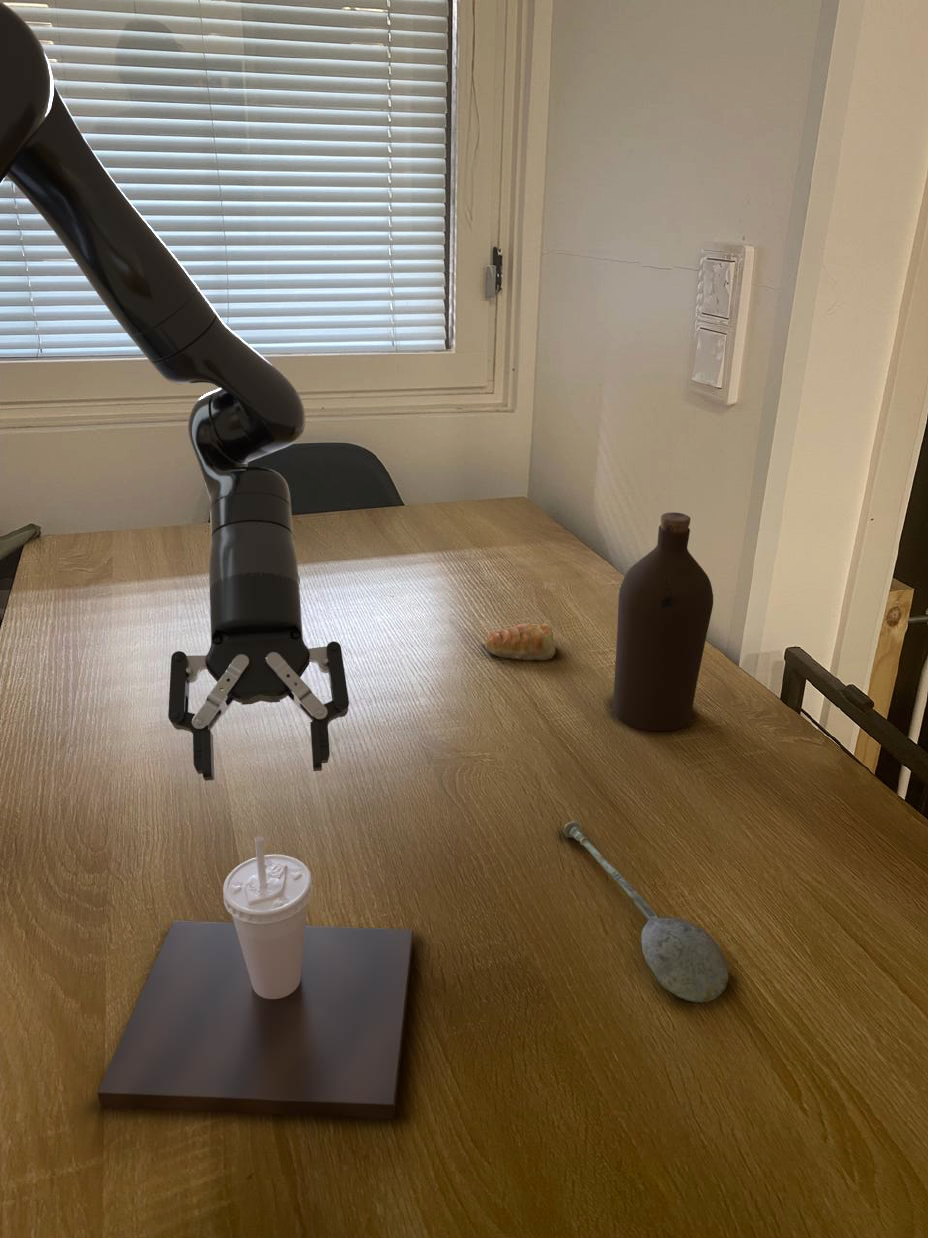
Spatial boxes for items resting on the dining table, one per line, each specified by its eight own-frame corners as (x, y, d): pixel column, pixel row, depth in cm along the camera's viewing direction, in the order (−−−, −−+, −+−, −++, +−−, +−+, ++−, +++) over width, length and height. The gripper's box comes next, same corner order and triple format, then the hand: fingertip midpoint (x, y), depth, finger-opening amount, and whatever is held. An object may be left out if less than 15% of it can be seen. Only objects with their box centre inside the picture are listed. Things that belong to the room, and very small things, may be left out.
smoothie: (216, 997, 68) (197, 850, 62) (264, 939, 74) (250, 798, 68) (290, 1025, 66) (277, 875, 60) (333, 962, 72) (325, 819, 66)
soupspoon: (672, 1021, 70) (740, 998, 73) (680, 989, 69) (749, 967, 71) (540, 841, 88) (599, 827, 90) (545, 813, 86) (604, 800, 89)
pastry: (489, 663, 121) (490, 638, 119) (481, 641, 127) (482, 616, 126) (557, 661, 122) (559, 635, 121) (547, 639, 128) (548, 614, 127)
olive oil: (713, 727, 108) (745, 527, 97) (633, 742, 104) (657, 536, 94) (667, 685, 117) (691, 498, 106) (592, 697, 114) (610, 505, 103)
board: (100, 1108, 62) (97, 1093, 61) (174, 934, 76) (172, 920, 76) (394, 1120, 61) (393, 1105, 61) (413, 943, 76) (413, 929, 75)
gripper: (161, 573, 73) (164, 774, 68) (339, 564, 76) (355, 757, 70) (174, 606, 80) (177, 790, 75) (337, 597, 83) (351, 774, 77)
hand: (264, 774), depth 73 cm, fingers open, 8 cm apart
